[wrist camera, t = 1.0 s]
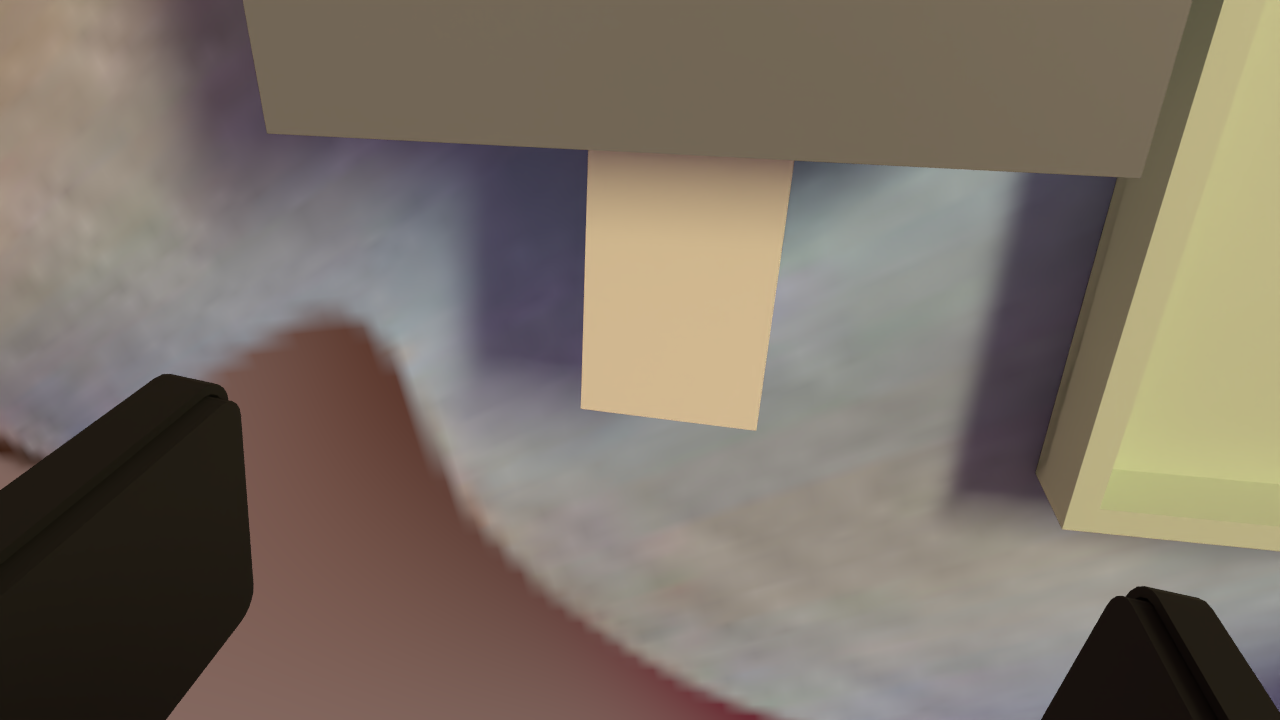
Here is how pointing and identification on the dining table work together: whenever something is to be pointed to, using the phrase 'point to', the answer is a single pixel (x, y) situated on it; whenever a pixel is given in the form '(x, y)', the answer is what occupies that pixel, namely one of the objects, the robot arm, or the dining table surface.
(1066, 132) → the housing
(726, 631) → the dining table surface
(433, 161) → the dining table surface
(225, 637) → the robot arm
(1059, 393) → the tray
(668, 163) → the tan cardboard box
